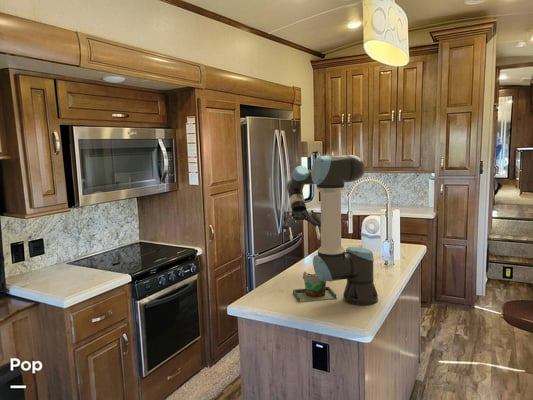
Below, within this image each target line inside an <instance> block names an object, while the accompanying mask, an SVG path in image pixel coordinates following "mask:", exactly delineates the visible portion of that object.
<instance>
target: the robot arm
mask: <svg viewBox="0 0 533 400" xmlns="http://www.w3.org/2000/svg"><path fill="white" fill-rule="evenodd" d="M365 171H366V165H365V163H364V161H363V159H362V158H360V157H359V156H357V155H354V154H338V155H337V154H335V155H333V154H332V155H321V156H318V157H316V158H315V159H314V161H313V163H312V166H311V169H308V167H306V166H303V165H298V166H296V167H294V169H293V172H292V175H291V178H290V179H289V180H288V181H286V191H287V195H288V199H289V203H290V208H291V212H290V211H286V213H285V214H286V215H285V219H284V222H283V224H282V230H285V231H286V234H287V235H286V236H289V240H290V242H293V239H294V238H293V232H292V228H291V227H292V226H293V225H294V223H295V222H296V221H304V220H305V221H306V222H308V223H309V224H311V225H312V226H314V227H315V232H316V237H317V240H319V241H320V247H319V248H318V249H317V254H316V255H314V256H313V258H312V265H313V266H312V267H313V270H314V274H316V275H317V277H318V278H319V280H321V281H323V282H326V283H327V282H334V281H341V280H346V284H345V287H344V290H343V295H342V297H343V301H344V302H346V303H347V304H351V305H356V306H369V305H373V304H375V303H377V302H378V301H379V296H378V295H379V294H378V291H377V288H376V286H375V283H374V282H375V281H374V279H375V278H374V261H375V260H374V254H373V251H372V250H370V249H368V248H363V247H358V246H348V247H346V248H343V246H342V190H344V189H345V183H351V182H356V181H358V180H360V179H361V178H362V177H363V176H364V174H365ZM305 185H306V186H307V185H316V189H317V190H318V191H319V192H320V193H319V194H320V196H319V198H320V217H318V216H317V215H316V214H315V212H314V210H313V209H311V210H309V211H308V210H307V205H306V201H305V197H304V193H303V191H304V188H305V187H304V186H305ZM291 216H292V219H291V220H290V221H289V219H290V218H291Z"/></svg>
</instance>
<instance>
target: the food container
mask: <svg viewBox="0 0 533 400" xmlns="http://www.w3.org/2000/svg"><path fill="white" fill-rule="evenodd" d="M302 279H303V280H304V289H305V290H306V295H307V296H309V297H323V296H325V289H326V287H327V284H326V283H327V281H326V282H323V281H321V280H319V278H318V277H317V275H316V273H306V271H304V272H303V274H302Z"/></svg>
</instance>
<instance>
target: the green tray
mask: <svg viewBox="0 0 533 400" xmlns="http://www.w3.org/2000/svg"><path fill="white" fill-rule="evenodd" d="M292 295H293V297H294V299H295V300H296V302H297V303H307V302H316V301H317V302H319V301H320V302H321V301H331V300H337V299H338V298H337V294H336V293H335V291H334V290H333V289H332V288H331V287H330V286H326V289H325V296H323V297H309V296H307V295H306V290H305V288H299V289H297V288H296V289H292Z"/></svg>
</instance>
